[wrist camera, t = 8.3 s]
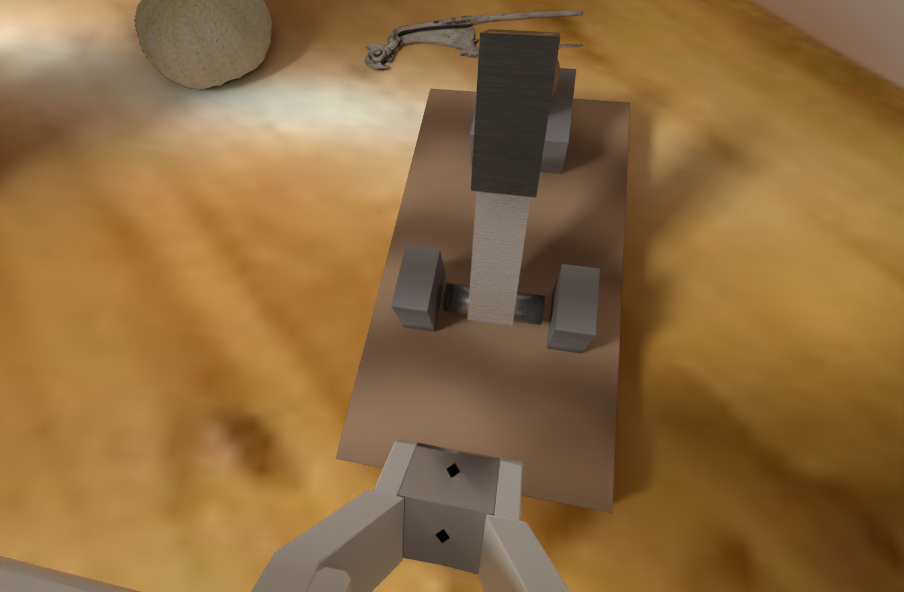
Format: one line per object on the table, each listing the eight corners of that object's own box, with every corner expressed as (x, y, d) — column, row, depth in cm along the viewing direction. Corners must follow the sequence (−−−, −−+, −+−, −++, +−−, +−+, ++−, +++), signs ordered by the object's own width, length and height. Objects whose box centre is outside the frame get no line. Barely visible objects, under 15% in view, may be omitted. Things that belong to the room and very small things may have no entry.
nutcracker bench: (600, 509, 20) (663, 530, 13) (348, 459, 21) (279, 454, 14) (620, 127, 28) (665, 7, 20) (434, 112, 29) (416, -3, 22)
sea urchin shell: (189, -28, 34) (199, -102, 27) (278, 55, 38) (305, 7, 31) (108, 51, 31) (97, -11, 25) (212, 131, 35) (227, 96, 29)
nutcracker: (586, 6, 32) (594, 54, 29) (584, 18, 32) (592, 65, 30) (366, 18, 32) (359, 65, 30) (368, 29, 33) (362, 75, 31)
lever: (539, 344, 19) (598, 38, 13) (438, 329, 20) (444, 30, 13) (540, 313, 21) (592, 34, 15) (448, 300, 22) (458, 27, 15)
